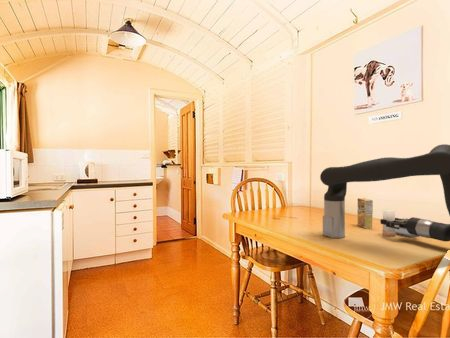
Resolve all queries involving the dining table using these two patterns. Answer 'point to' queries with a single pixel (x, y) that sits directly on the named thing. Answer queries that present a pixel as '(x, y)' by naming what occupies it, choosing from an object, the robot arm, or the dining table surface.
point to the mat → (404, 233)
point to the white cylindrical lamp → (390, 216)
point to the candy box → (365, 213)
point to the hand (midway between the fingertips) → (387, 220)
